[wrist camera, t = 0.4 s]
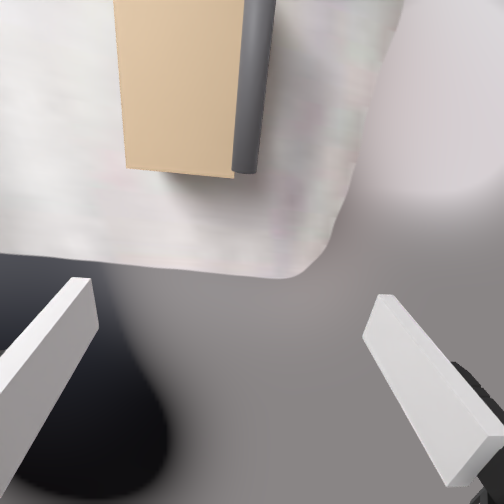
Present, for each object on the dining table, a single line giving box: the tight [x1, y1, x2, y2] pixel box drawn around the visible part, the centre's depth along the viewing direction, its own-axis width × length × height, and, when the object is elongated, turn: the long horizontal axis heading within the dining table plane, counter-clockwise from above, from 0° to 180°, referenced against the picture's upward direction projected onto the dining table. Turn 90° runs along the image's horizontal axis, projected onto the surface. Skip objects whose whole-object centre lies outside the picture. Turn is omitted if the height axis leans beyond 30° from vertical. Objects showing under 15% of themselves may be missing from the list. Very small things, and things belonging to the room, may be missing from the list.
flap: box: [113, 0, 276, 179], centre depth 20 cm, size 18×12×9 cm, turn 174°
